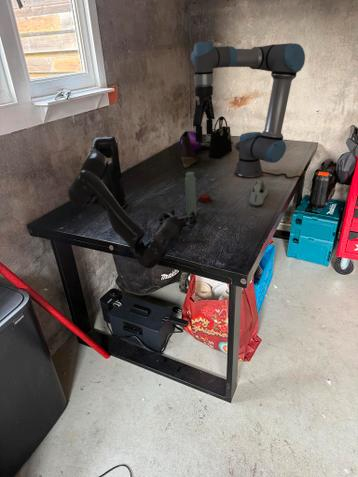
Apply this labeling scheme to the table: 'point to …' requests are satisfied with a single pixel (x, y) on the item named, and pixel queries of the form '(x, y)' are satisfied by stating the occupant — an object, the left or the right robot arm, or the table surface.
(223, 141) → the handbag
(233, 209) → the table surface
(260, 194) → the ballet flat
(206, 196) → the lid
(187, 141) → the boot
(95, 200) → the left robot arm
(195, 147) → the decorative orb
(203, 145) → the pair of gloves
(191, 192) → the bottle
